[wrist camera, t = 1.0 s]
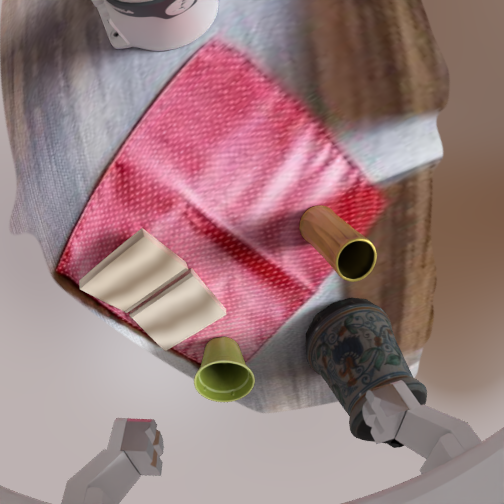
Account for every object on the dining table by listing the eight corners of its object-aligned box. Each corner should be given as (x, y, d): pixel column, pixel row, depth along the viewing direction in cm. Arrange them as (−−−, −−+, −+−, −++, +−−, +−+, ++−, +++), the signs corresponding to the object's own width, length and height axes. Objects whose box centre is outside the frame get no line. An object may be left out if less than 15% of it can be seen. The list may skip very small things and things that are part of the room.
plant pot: (213, 319, 50) (214, 352, 42) (259, 342, 53) (266, 375, 45) (186, 354, 52) (183, 388, 44) (230, 375, 55) (233, 408, 47)
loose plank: (79, 280, 39) (79, 289, 38) (142, 227, 37) (144, 236, 36) (125, 304, 47) (127, 313, 46) (185, 261, 45) (188, 270, 44)
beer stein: (343, 279, 50) (422, 379, 27) (405, 322, 56) (474, 405, 33) (284, 349, 54) (321, 464, 31) (352, 379, 60) (399, 470, 36)
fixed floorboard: (131, 309, 48) (129, 315, 46) (191, 267, 46) (190, 272, 45) (166, 345, 51) (165, 351, 49) (225, 308, 49) (226, 314, 48)
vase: (313, 251, 48) (347, 295, 34) (291, 221, 45) (321, 257, 32) (343, 227, 47) (388, 263, 33) (323, 197, 45) (365, 223, 31)
